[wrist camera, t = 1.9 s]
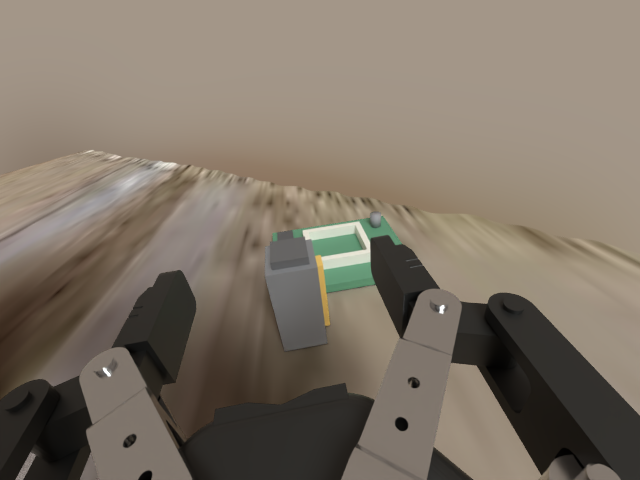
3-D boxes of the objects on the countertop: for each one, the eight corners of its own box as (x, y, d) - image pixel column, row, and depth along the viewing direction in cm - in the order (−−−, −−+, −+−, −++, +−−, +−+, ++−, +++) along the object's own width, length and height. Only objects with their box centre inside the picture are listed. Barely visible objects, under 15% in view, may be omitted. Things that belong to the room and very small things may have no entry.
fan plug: (284, 351, 30) (262, 268, 24) (282, 318, 33) (263, 239, 27) (333, 342, 30) (323, 258, 24) (326, 310, 34) (316, 230, 28)
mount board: (275, 301, 35) (270, 281, 34) (274, 239, 47) (270, 222, 45) (418, 276, 37) (420, 256, 35) (382, 222, 48) (383, 204, 47)
